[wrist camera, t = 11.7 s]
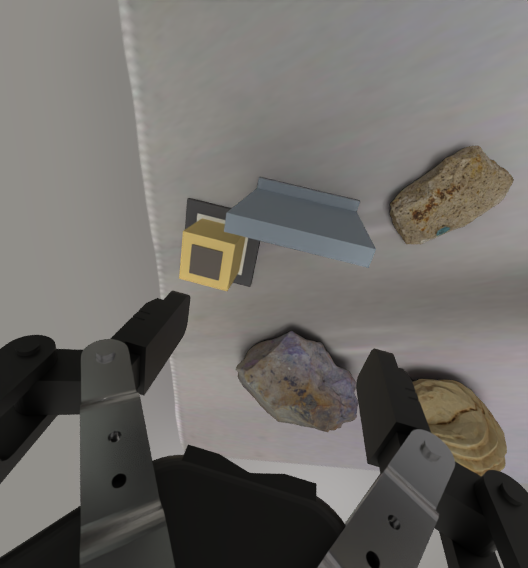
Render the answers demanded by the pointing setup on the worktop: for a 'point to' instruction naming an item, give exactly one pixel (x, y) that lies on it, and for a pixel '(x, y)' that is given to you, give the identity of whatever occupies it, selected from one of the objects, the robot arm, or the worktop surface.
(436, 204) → the rock
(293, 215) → the screen
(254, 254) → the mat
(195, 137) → the worktop surface
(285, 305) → the worktop surface
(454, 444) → the fossil
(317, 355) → the stone
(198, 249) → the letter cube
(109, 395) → the robot arm
